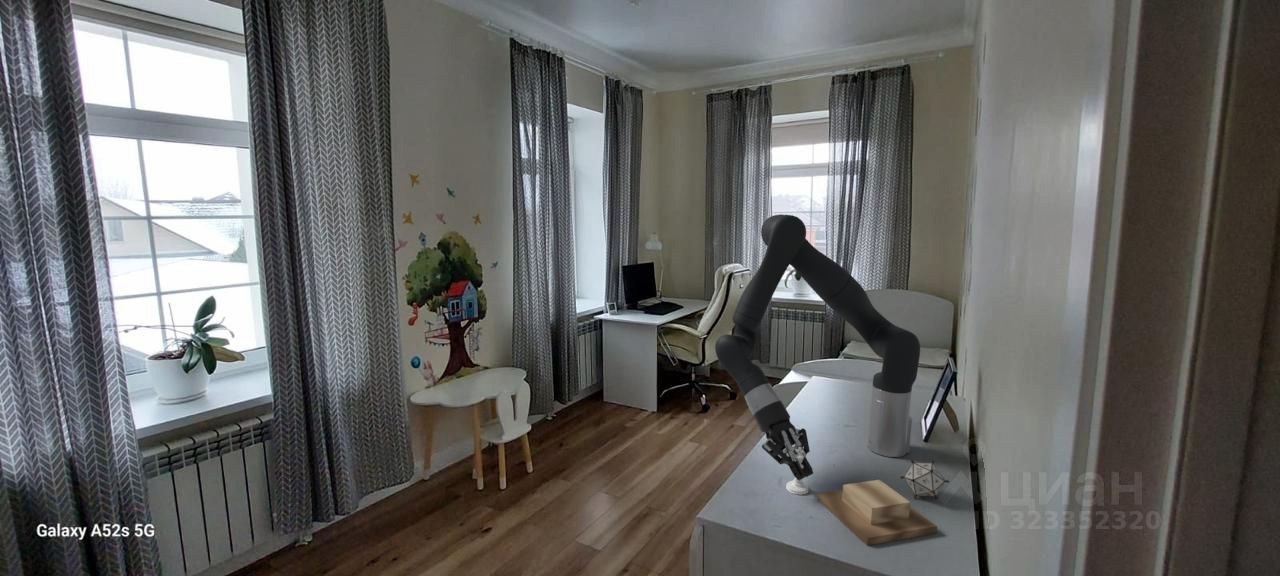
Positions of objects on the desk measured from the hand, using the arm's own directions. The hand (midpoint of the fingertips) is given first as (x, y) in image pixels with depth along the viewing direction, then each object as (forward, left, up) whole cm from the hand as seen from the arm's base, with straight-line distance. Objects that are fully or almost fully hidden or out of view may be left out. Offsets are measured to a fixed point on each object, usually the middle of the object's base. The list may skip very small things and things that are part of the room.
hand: (805, 476), depth 115 cm
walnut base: (-9, +11, -4) cm, 15 cm away
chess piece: (+1, -2, -4) cm, 5 cm away
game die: (-25, +7, -4) cm, 27 cm away
